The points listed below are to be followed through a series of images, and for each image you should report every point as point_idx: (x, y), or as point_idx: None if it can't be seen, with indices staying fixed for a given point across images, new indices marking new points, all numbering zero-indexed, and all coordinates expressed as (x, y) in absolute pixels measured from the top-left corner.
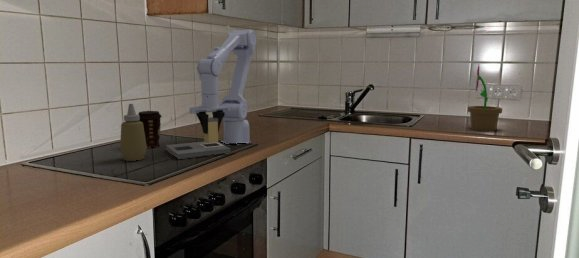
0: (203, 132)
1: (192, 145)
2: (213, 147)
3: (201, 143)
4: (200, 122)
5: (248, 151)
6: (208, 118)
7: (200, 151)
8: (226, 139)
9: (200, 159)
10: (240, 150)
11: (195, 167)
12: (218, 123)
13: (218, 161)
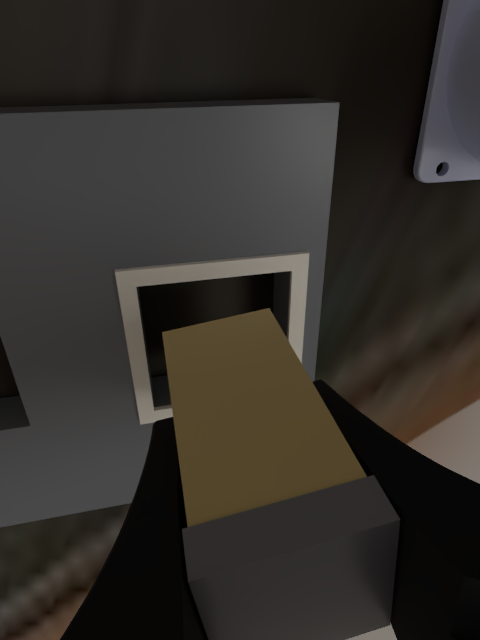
0: (153, 432)
1: (32, 286)
2: None
3: (149, 220)
4: (118, 549)
5: (417, 405)
6: (257, 631)
7: (78, 509)
8: (472, 108)
9: None
10: (396, 367)
11: (24, 625)
12: None
13: None
